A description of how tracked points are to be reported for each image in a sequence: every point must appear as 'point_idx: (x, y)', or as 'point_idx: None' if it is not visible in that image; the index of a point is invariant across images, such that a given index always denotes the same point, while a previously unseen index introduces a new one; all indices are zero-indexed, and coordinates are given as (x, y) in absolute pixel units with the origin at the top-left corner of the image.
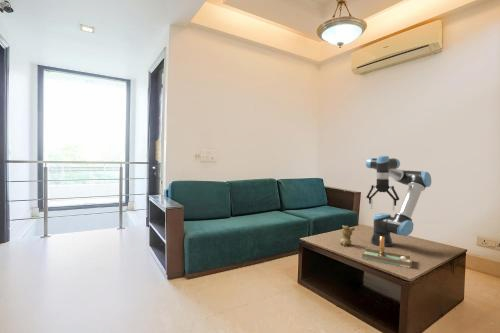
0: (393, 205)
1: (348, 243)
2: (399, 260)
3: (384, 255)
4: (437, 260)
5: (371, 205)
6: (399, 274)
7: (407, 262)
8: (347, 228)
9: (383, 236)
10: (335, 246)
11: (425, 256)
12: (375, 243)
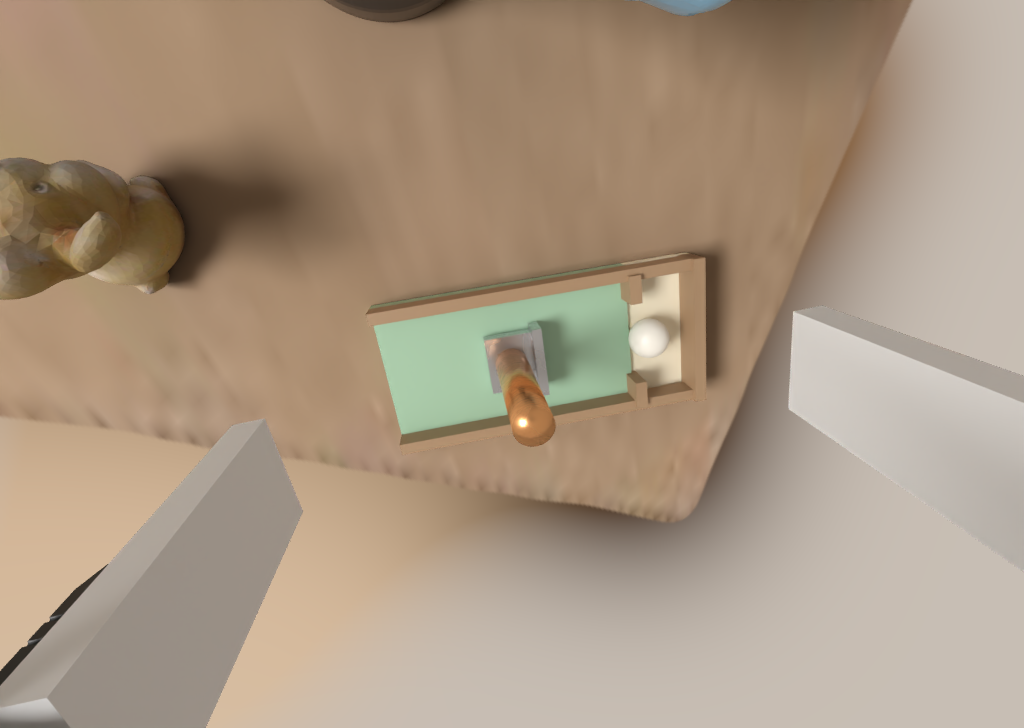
0: (920, 485)
1: (173, 259)
2: (636, 408)
3: (532, 366)
4: (841, 100)
5: (258, 584)
6: (641, 509)
7: (680, 400)
8: (41, 286)
9: (542, 411)
10: (114, 339)
11: (770, 56)
12: (346, 8)
